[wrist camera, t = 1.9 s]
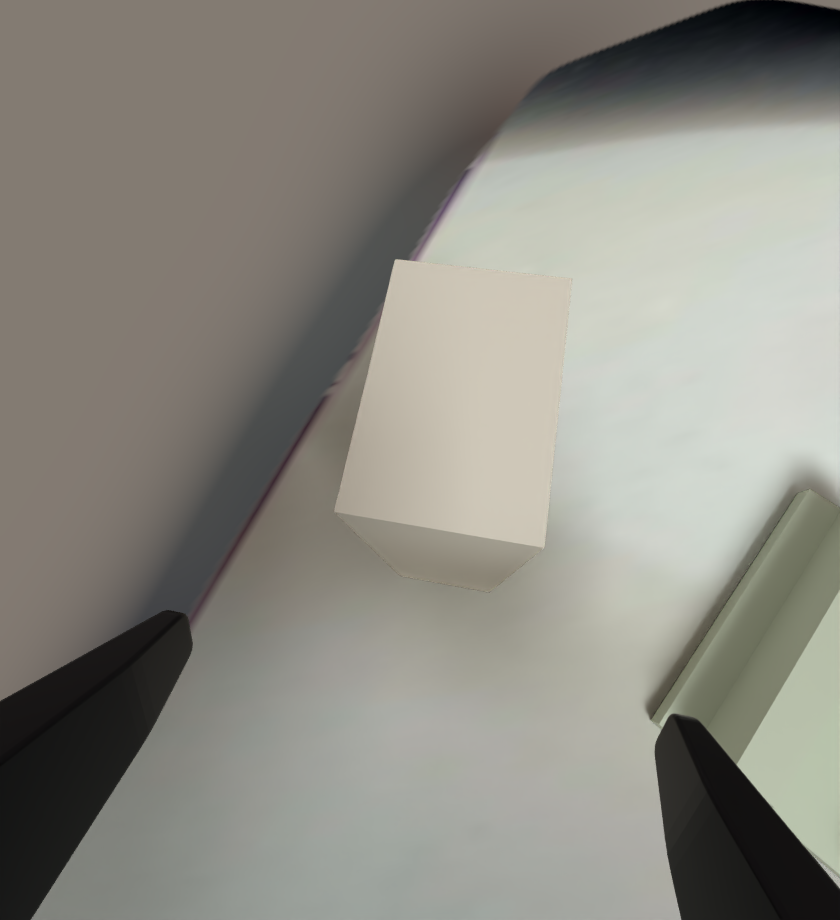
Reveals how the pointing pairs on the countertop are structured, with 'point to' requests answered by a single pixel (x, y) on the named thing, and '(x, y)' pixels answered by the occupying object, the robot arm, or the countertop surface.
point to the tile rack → (779, 675)
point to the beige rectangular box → (458, 423)
